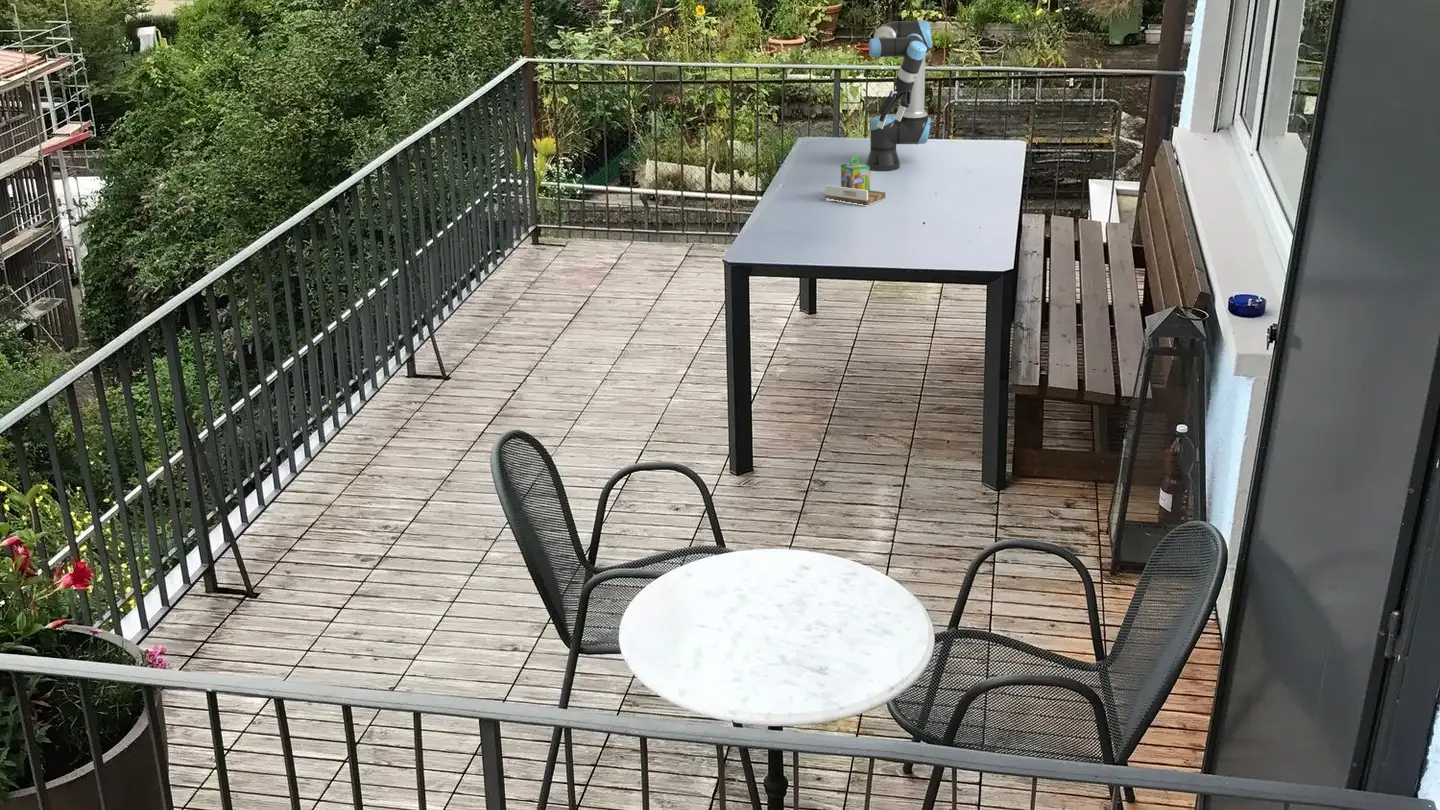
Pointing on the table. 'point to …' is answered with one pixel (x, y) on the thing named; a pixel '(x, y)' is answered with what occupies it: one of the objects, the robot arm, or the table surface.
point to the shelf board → (853, 195)
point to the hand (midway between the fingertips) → (888, 123)
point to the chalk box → (855, 175)
